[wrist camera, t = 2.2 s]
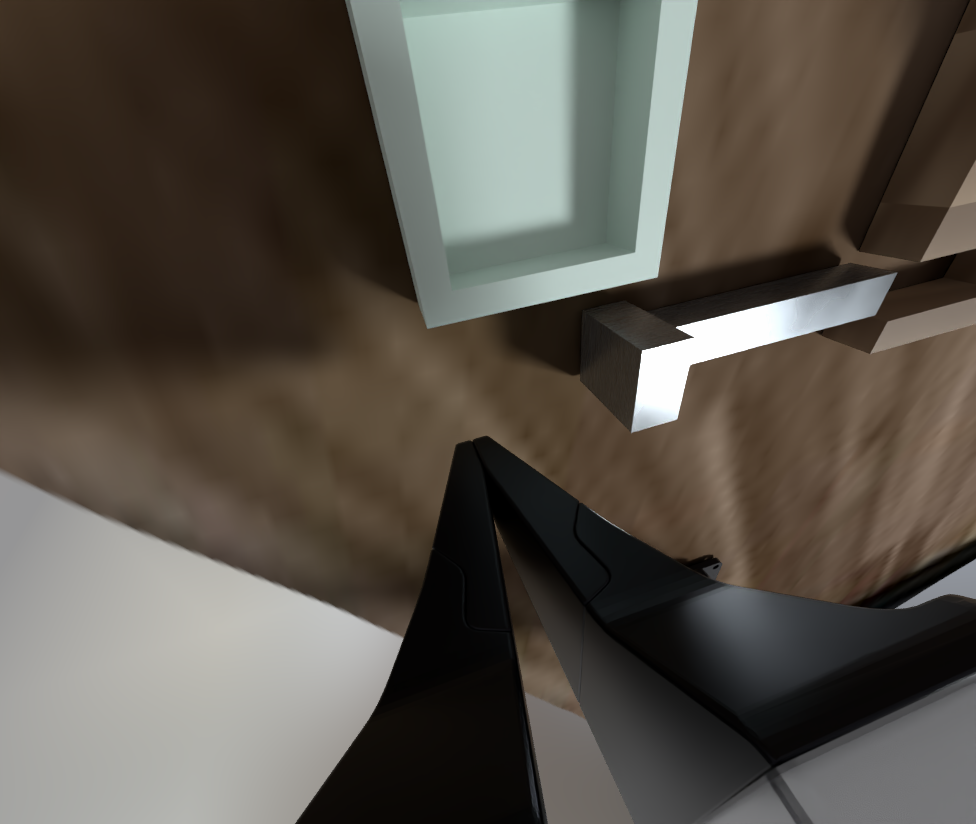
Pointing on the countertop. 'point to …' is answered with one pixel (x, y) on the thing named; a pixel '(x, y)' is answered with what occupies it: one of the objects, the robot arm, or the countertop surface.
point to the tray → (525, 142)
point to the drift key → (710, 335)
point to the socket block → (930, 212)
